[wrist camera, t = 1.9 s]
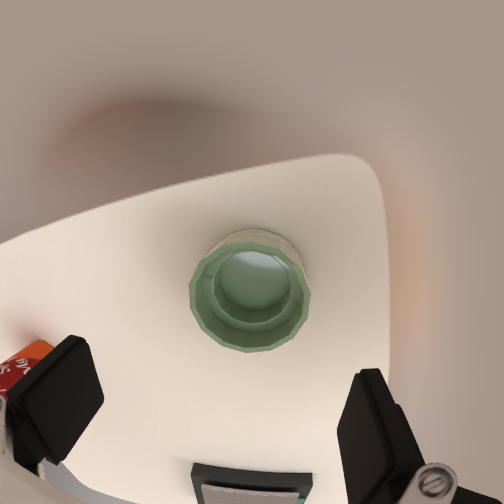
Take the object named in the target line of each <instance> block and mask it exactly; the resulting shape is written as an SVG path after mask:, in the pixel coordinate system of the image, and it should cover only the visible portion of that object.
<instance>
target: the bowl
mask: <svg viewBox="0 0 504 504" xmlns="http://www.w3.org/2000/svg"><path fill="white" fill-rule="evenodd" d="M189 288H190V308H191V311H192V313H193V315H194V316H195V318H196V320H197V322H198V324H199V326H200V328H201V329H202V331H204V332H205V333H206V334H207V335H209V336H210V337H211V338H212V339H214V340H215V341H216V342H218V343H219V344H220V345H222V346H224V347H228V348H231V349H234V350H238V351H241V352H245V353H249V352H260V351H269V350H273V349H274V348H276V347H278V346H280V345H282V344H284V343H285V342H287V341H289V340H291V339H292V338H294V336H295V335H296V333H297V332H298V331H299V329H300V328H301V326H302V325H303V324H304V322H305V321H306V319H307V317H308V309H309V302H310V289H309V285H308V281H307V277H306V273H305V270H304V267H303V265H302V262H301V259H300V257H299V254H298V252H297V250H296V249H295V248H293V247H292V246H291V245H290V244H289V243H288V242H287V241H286V240H285V239H283V238H282V237H281V236H279V235H277V234H274V233H271V232H267V231H264V230H260V229H250V230H244V231H237V232H234V233H232V234H230V235H229V236H227V237H226V238H225V239H223V240H222V241H220V242H219V243H218V244H216V245H215V246H214V247H213V248H212V250H211V251H210V252H209V253H208V254H207V255H206V256H205V257H204V258H203V259H202V260H201V261H200V263H199V265H198V267H197V269H196V271H195V273H194V275H193V277H192V279H191V281H190V284H189Z"/></svg>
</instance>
